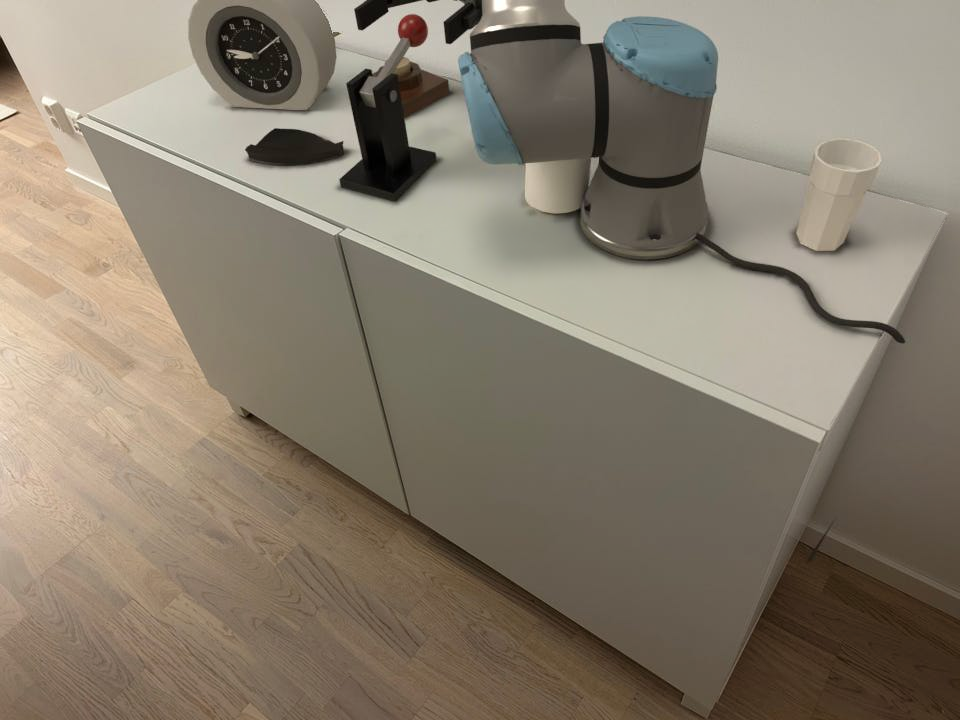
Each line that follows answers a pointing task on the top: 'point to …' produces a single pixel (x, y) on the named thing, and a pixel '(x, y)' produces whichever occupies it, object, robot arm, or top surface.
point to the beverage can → (557, 184)
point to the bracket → (383, 142)
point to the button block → (419, 88)
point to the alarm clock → (263, 51)
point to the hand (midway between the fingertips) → (401, 26)
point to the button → (403, 67)
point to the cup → (835, 191)
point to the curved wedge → (293, 148)
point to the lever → (397, 52)
